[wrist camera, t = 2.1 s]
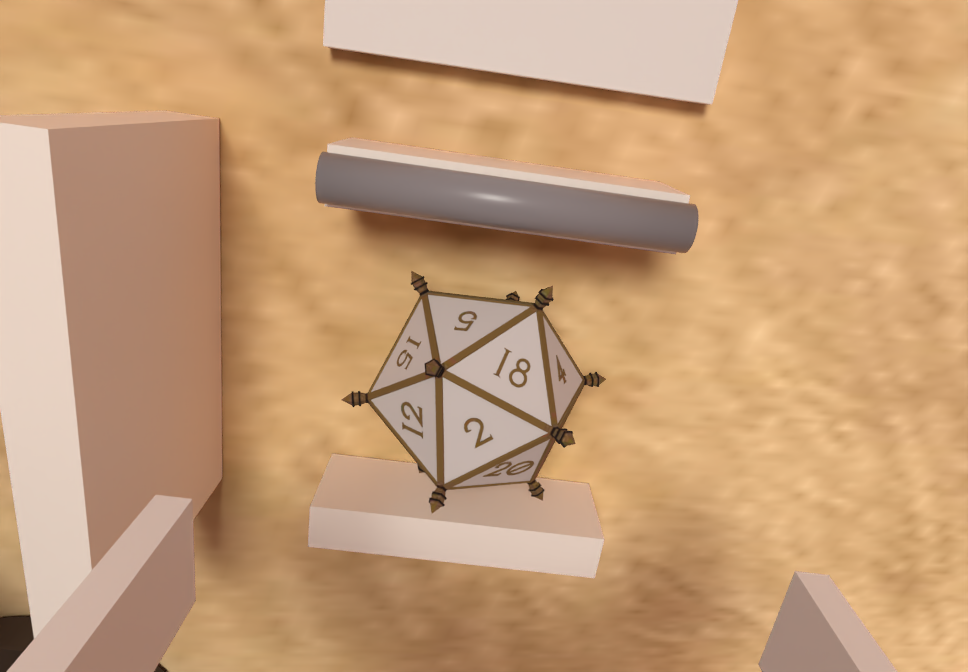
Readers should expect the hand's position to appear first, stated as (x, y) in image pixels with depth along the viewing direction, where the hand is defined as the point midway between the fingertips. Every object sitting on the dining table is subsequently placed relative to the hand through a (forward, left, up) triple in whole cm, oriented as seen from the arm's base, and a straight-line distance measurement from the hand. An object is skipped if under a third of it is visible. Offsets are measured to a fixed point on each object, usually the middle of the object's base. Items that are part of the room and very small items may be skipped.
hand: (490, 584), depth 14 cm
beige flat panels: (0, +4, -14) cm, 15 cm away
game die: (0, 0, -14) cm, 14 cm away
